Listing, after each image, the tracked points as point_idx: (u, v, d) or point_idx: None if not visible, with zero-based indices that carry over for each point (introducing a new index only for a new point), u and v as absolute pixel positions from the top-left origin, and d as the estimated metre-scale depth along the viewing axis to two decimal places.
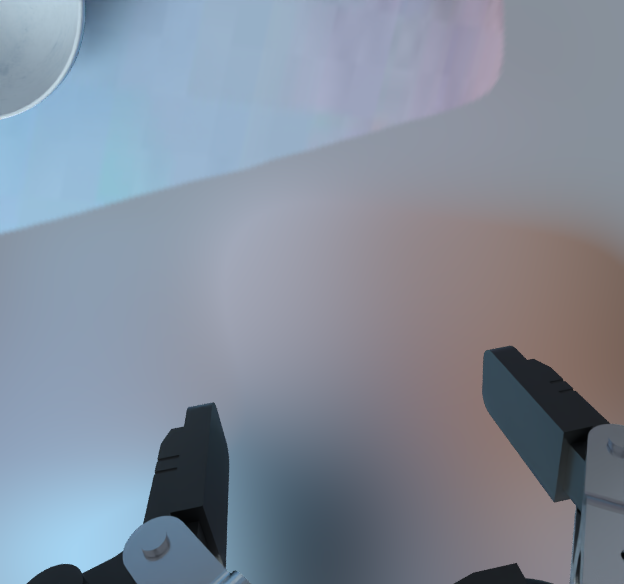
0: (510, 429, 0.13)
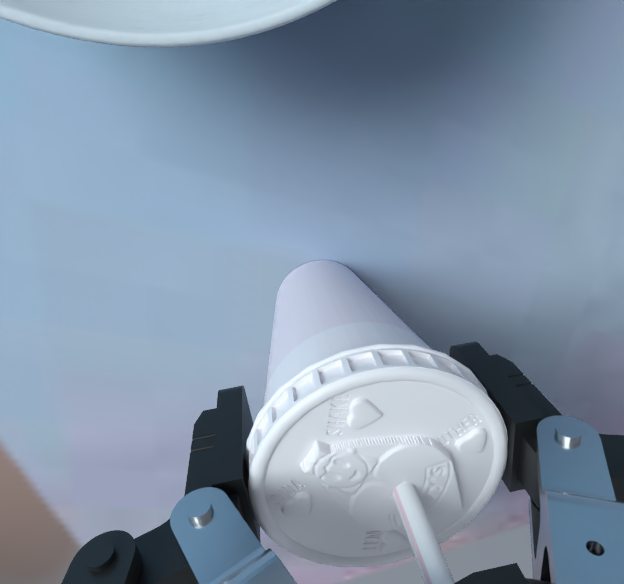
0: None
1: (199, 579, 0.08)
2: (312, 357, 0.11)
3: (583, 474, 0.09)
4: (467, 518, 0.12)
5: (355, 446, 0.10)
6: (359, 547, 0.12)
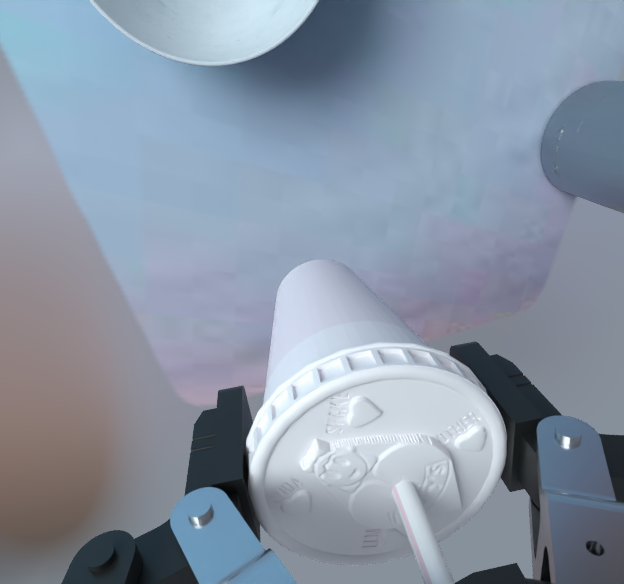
0: None
1: (199, 579, 0.08)
2: (312, 356, 0.11)
3: (583, 474, 0.09)
4: (466, 517, 0.12)
5: (354, 444, 0.10)
6: (358, 545, 0.12)
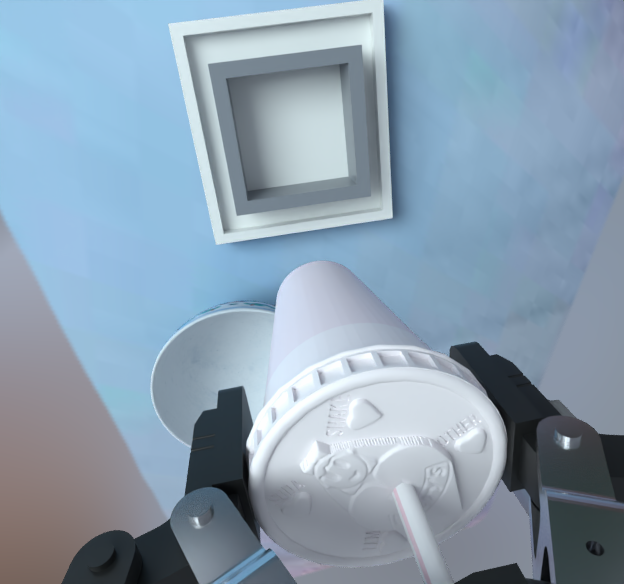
0: None
1: (199, 579, 0.08)
2: (312, 358, 0.11)
3: (583, 474, 0.09)
4: (466, 519, 0.12)
5: (355, 446, 0.10)
6: (358, 548, 0.12)
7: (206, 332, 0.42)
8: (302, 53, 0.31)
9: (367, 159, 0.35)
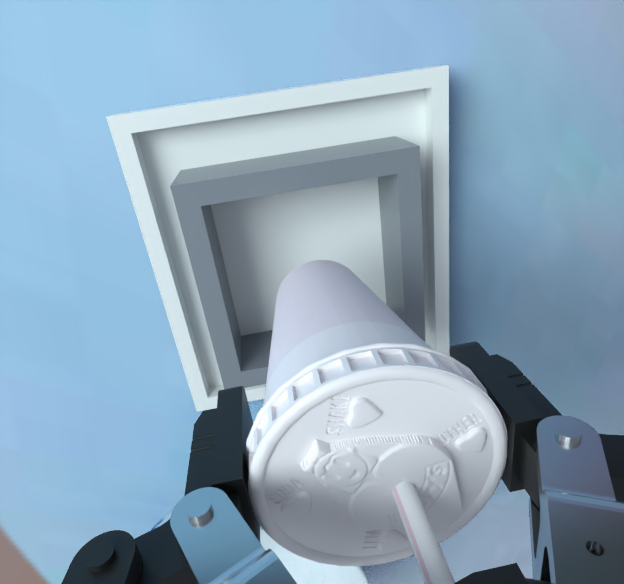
0: None
1: (199, 579, 0.08)
2: (312, 356, 0.11)
3: (583, 474, 0.09)
4: (467, 518, 0.12)
5: (355, 445, 0.10)
6: (358, 547, 0.12)
7: None
8: (324, 163, 0.19)
9: (422, 306, 0.23)
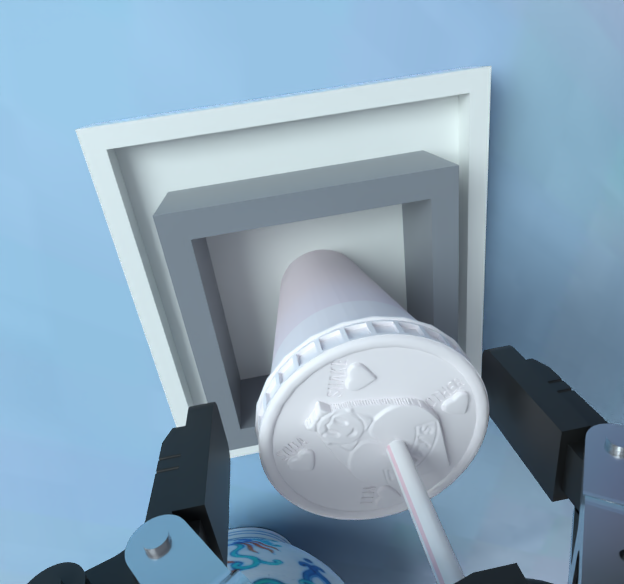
0: (508, 429, 0.13)
1: None
2: (314, 331, 0.13)
3: None
4: (454, 475, 0.13)
5: (352, 406, 0.12)
6: (356, 502, 0.13)
7: None
8: (342, 187, 0.16)
9: None
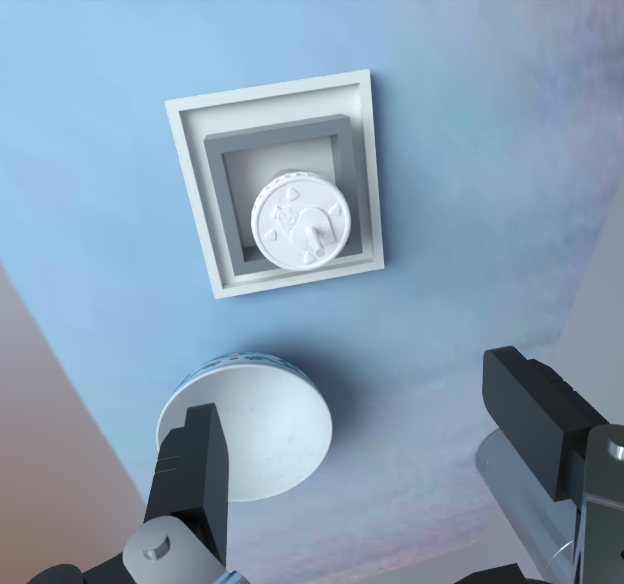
0: (510, 429, 0.13)
1: None
2: None
3: None
4: (339, 249, 0.30)
5: (290, 208, 0.29)
6: (296, 261, 0.30)
7: (208, 379, 0.43)
8: (293, 127, 0.33)
9: (358, 220, 0.36)
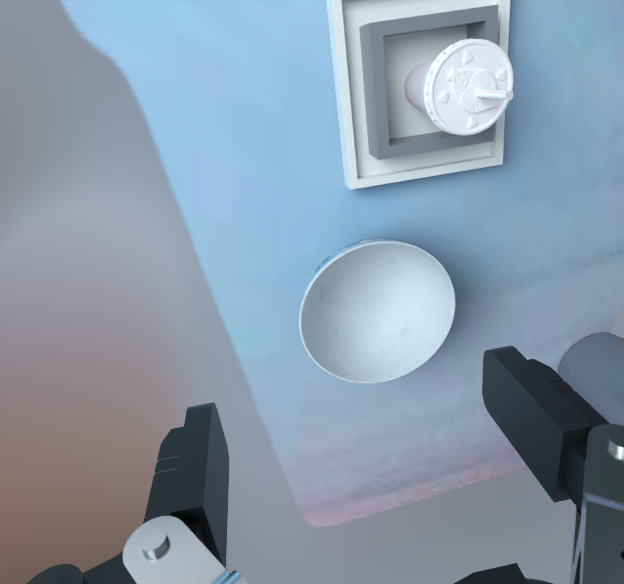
0: (510, 429, 0.13)
1: None
2: None
3: None
4: (499, 115, 0.34)
5: (464, 70, 0.32)
6: (461, 124, 0.34)
7: (333, 272, 0.47)
8: (448, 12, 0.36)
9: None
